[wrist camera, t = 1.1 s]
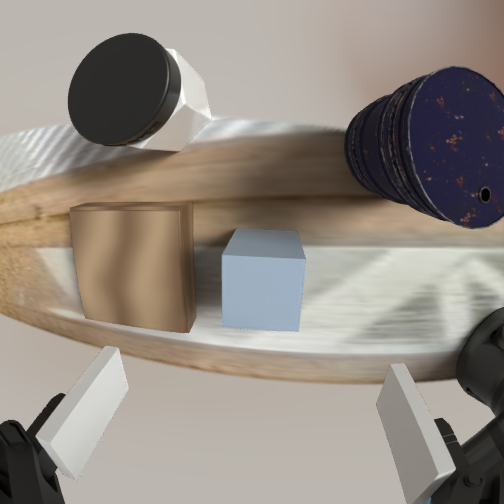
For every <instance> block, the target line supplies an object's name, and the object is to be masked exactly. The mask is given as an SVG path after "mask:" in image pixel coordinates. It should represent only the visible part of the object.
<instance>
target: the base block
mask: <svg viewBox="0 0 504 504" xmlns="http://www.w3.org/2000/svg"><path fill="white" fill-rule="evenodd" d="M69 215H70V226H71V236H72V245H73V253H74V260H75V267H76V273H77V279H78V285H79V290H80V296H81V301H82V305H83V310H84V315H85V318H86V319H91V320H96V321H102V322H108V323H114V324H120V325H126V326H133V327H140V328H147V329H154V330H161V331H169V332H178V333H189V332H190V330H191V328H192V326H193V323H194V321H195V319H196V301H195V279H194V248H193V202H100V203H85V204H81V205H78V206H74V207H71V208H70V211H69Z"/></svg>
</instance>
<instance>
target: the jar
mask: <svg viewBox="0 0 504 504" xmlns="http://www.w3.org/2000/svg"><path fill="white" fill-rule="evenodd" d="M68 110H69V115H70V118H71V121H72V123H73V125H74V127H75V129H76V130H77V131H78V133H79V134H80V135H81V136H83V137H84V138H85V139H87V140H89V141H91V142H93V143H96V144H101V145H104V146H130V147H134V148H138V149H149V150H164V151H176V152H179V151H181V150H182V149H183V148H184V147H185V146H186V145H187V144H188V143H189V142H190V141H191V140H192V139H193V138H194V137H195V136H196V135H197V134H198V133H199V132H200V131H201V130H202V129H203V128H204V127H205V126H206V125H207V124H208V123H209V122H211V120H212V118H211V113H210V109H209V105H208V100H207V95H206V90H205V86H204V81H203V79H202V78H201V77H200V76H199V75H198V74H197V73H196V72H195V70H194V69H193V68H192V67H191V66H190V65H189V64H188V63H187V62H186V61H185V60H184V59H183V58H182V57H181V56H180V55H179V54H178V53H177V51H176V50H174V49H169V48H164V47H163V46H161V45H160V44H159V43H158V42H157V41H156V40H154V39H153V38H151V37H148V36H146V35H142V34H138V33H128V34H121V35H117V36H114V37H112V38H109V39H107V40H105V41H104V42H102V43H100V44H99V45H98V46H96V47H95V48H94V49H93V50H91V51H90V52H89V54H87V56H86V57H85V58H84V59H83V60H82V62H81V63H80V65H79V66H78V68H77V70H76V71H75V74H74V76H73V78H72V81H71V84H70V88H69V93H68Z"/></svg>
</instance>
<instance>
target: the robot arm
mask: <svg viewBox="0 0 504 504" xmlns="http://www.w3.org/2000/svg"><path fill="white" fill-rule="evenodd" d="M456 376H457V380H458V382H459V384H460V385H461V387H462V388H463V390H464V391H465V392H466V393H467V394H468V395H470V396H472V397H474V398H475V399H477V400H478V401H480V402H481V403H483V404H485V405H486V406H488V407H489V408H490V409H491V410H492V412H493V413H494V415H495V416H496V417H495V418H494V419H493V420H492V421H491V422H490V423H488V424H487V425H486V426H485V427H484V428H482V429H481V430H480V431H479V432H478V433H476V434H475V435H474V436H473V437H471V438H470V439H469V440H468V441H466V442H465V443H464V444H463V445H461V446H460V444H459V442H457V438H456V436H455V435H454V432H453V430H452V428H451V426H450V425H449V424H448V423H447V422H446V421H445V420H444V419H443V418H438V419H433V418H432V416H431V414H430V412H429V410H428V408H427V406H426V404H425V402H424V400H423V398H422V396H421V394H420V392H419V390H418V388H417V386H416V384H415V382H414V381H413V379H412V377H411V375H410V373H409V371H408V369H407V368H406V366H405V364H404V363H399V364H390V366H389V370H388V372H387V375H386V378H385V381H384V384H383V387H382V389H381V392H380V395H379V398H378V400H377V403H376V405H377V409H378V411H379V414H380V417H381V420H382V423H383V426H384V429H385V432H386V436H387V439H388V442H389V445H390V448H391V451H392V454H393V458H394V461H395V464H396V468H397V471H398V474H399V478H400V481H401V485H402V488H403V492H404V496H405V499H406V503H407V504H504V308H501V309H499V310H498V311H496V312H494V313H493V314H492V315H490V316H489V317H488V318H487V319H486V320H485V321H484V322H483V323H482V324H481V325H480V326H479V327H478V328H477V329H476V330H475V332H474V333H473V334H472V336H471V337H470V338H469V340H468V342H467V343H466V345H465V347H464V349H463V351H462V353H461V355H460V358H459V360H458V364H457V370H456ZM128 389H129V386H128V383H127V379H126V376H125V372H124V368H123V364H122V360H121V356H120V352H119V348H116V347H111V346H105V347H104V348H103V349H102V351H101V352H100V353H99V355H98V356H97V357H96V358H95V359H94V360H93V362H92V363H91V364H90V365H89V367H88V368H87V369H86V370H85V372H84V373H83V374H82V376H81V377H80V378H79V379H78V380H77V382H76V383H75V384H74V386H73V387H72V388H71V389H70V391H69V392H68V393H67V395H65V394H63V393H60V394H58V395H56V396H55V397H53V398H52V399H51V400H50V401H49V403H48V404H47V405H46V407H45V408H44V409H43V410H42V413H40V414H39V416H38V417H37V418H36V419H35V421H34V422H33V423H32V425H31V426H30V427H29V429H28V430H27V431H25V430H24V428H23V427H22V425H21V424H20V423H19V422H18V421H15V420H8V421H4V422H3V423H2V424H0V504H65V502H64V499H63V495H62V492H61V489H60V485H59V481H58V478H57V475H56V473H55V471H56V469H57V468H58V469H59V470H60V471H61V473H62V474H63V475H65V476H67V477H69V478H72V479H74V480H76V481H77V480H78V478H79V477H80V474H81V473H82V471H83V469H84V467H85V465H86V464H87V462H88V460H89V458H90V456H91V454H92V453H93V451H94V449H95V447H96V445H97V444H98V442H99V440H100V438H101V436H102V435H103V433H104V431H105V429H106V428H107V426H108V424H109V422H110V420H111V418H112V417H113V415H114V413H115V412H116V410H117V408H118V406H119V405H120V403H121V401H122V400H123V398H124V396H125V394H126V393H127V391H128Z"/></svg>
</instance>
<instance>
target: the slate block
mask: <svg viewBox="0 0 504 504" xmlns="http://www.w3.org/2000/svg"><path fill="white" fill-rule="evenodd" d="M305 264H306V258H305V255H304V251H303V248H302V245H301V242H300V239H299V236H298V232H297V231H287V230H267V229H245V228H237V229H236V231H235V232H234V234H233V236H232V238H231V239H230V241H229V243H228V245H227V247H226V248H225V250H224V252H223V254H222V327H226V328H239V329H254V330H272V331H295V332H298V330H299V322H300V313H301V304H302V295H303V285H304V275H305Z"/></svg>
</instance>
